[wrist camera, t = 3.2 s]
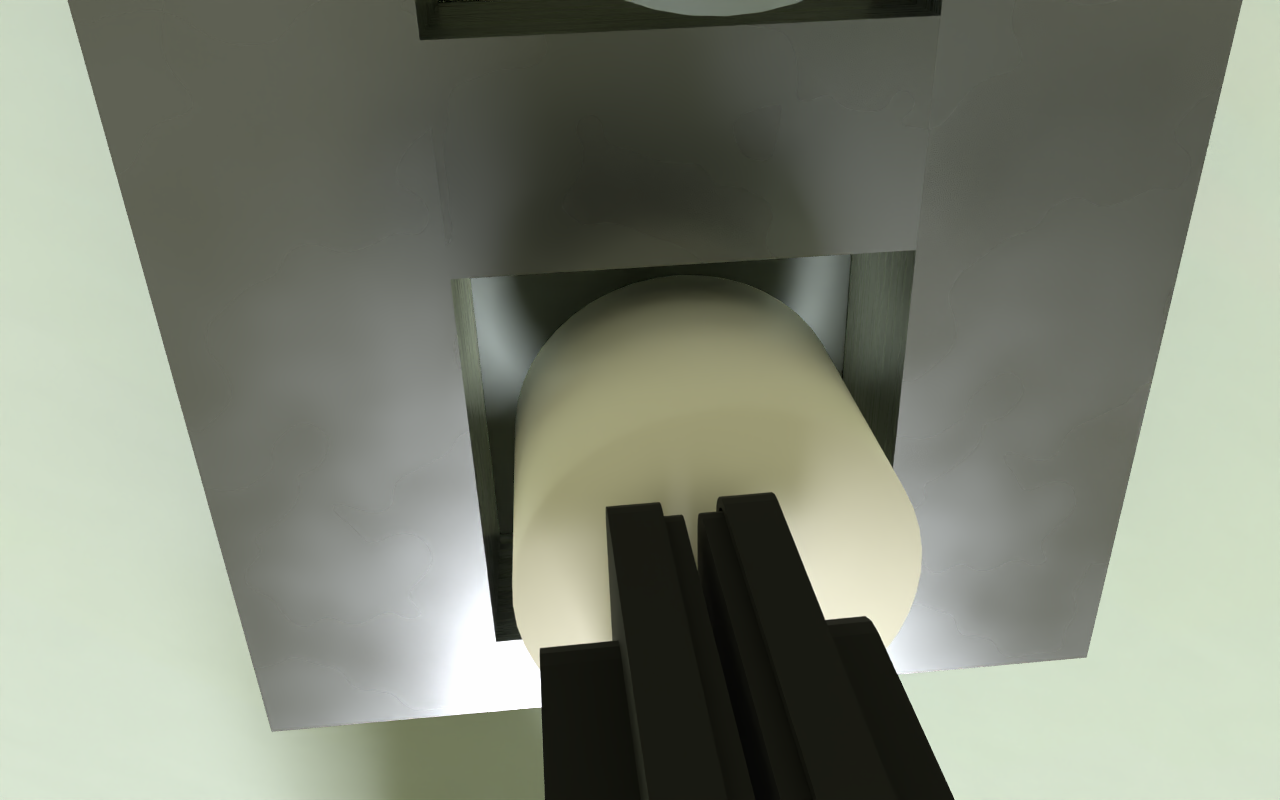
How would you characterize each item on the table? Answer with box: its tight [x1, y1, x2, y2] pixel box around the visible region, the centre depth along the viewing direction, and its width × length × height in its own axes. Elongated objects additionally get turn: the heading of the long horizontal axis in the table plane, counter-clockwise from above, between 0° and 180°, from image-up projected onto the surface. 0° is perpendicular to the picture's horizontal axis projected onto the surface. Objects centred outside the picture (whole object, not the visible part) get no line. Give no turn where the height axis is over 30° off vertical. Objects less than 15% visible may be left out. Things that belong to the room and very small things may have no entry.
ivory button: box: [512, 275, 922, 669], centre depth 13 cm, size 4×4×3 cm
